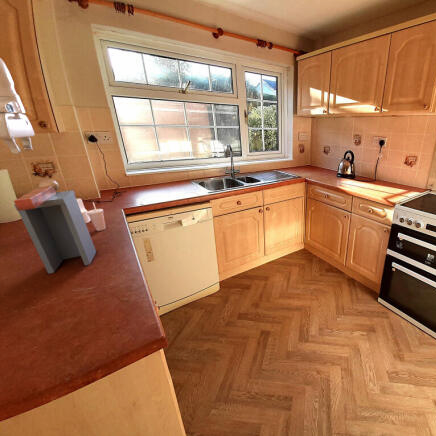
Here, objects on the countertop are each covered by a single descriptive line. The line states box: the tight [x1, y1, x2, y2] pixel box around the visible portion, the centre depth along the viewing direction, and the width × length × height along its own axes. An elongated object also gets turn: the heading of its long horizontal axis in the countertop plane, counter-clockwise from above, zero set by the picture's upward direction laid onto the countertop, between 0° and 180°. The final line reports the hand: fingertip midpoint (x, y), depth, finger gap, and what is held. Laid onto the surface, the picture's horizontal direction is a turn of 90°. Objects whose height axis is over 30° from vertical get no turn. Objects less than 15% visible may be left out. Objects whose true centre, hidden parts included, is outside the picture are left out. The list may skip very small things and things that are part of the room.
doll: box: [13, 178, 60, 212], centre depth 79 cm, size 23×5×5 cm, turn 27°
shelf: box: [13, 190, 97, 275], centre depth 88 cm, size 12×12×26 cm
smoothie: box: [87, 201, 107, 232], centre depth 119 cm, size 6×6×14 cm
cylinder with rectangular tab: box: [76, 198, 92, 224], centre depth 129 cm, size 9×9×12 cm
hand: (23, 151), depth 84 cm, fingers open, 8 cm apart
